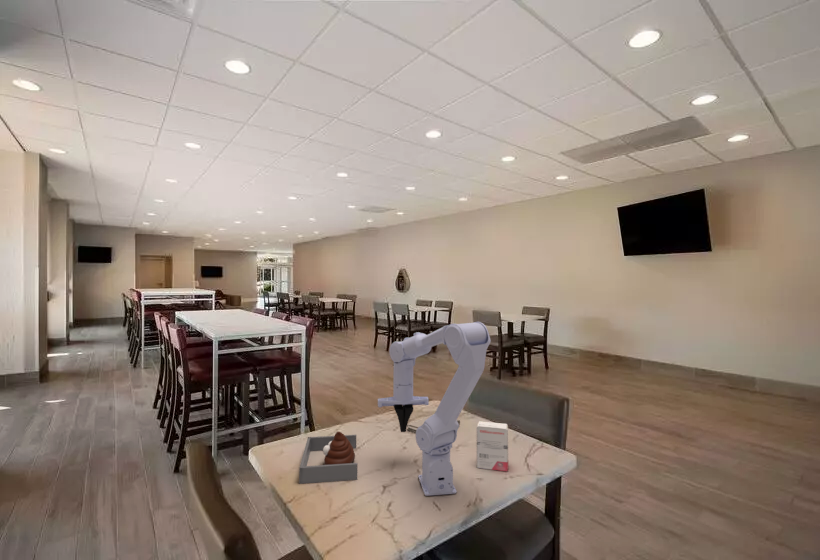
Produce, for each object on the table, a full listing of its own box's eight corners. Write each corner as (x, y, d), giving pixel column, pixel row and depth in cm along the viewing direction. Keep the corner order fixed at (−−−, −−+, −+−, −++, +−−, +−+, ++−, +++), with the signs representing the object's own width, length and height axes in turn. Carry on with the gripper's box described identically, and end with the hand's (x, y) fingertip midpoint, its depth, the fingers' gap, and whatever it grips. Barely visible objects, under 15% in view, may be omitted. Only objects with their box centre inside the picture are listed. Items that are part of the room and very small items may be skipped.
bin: (357, 479, 99) (357, 464, 99) (299, 483, 96) (299, 468, 97) (356, 447, 119) (356, 434, 119) (307, 450, 116) (307, 437, 116)
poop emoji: (346, 473, 102) (346, 438, 102) (317, 469, 104) (317, 435, 104) (359, 457, 112) (359, 425, 112) (333, 454, 114) (333, 423, 114)
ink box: (508, 464, 108) (508, 422, 108) (508, 472, 103) (508, 429, 103) (477, 460, 110) (478, 419, 110) (476, 468, 106) (476, 425, 106)
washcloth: (404, 431, 133) (404, 423, 133) (434, 418, 146) (434, 410, 146) (431, 441, 125) (431, 431, 125) (460, 426, 139) (460, 417, 139)
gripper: (425, 378, 113) (425, 424, 113) (377, 380, 111) (376, 426, 111) (430, 385, 106) (430, 433, 106) (378, 386, 104) (378, 436, 104)
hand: (403, 430), depth 108 cm, fingers closed
